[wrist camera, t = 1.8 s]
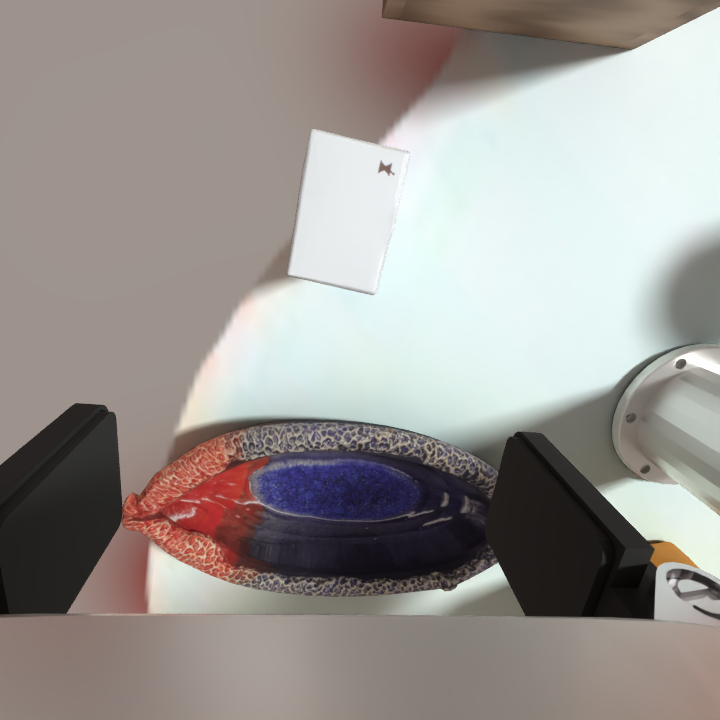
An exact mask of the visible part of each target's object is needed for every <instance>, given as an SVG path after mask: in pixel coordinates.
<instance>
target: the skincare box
mask: <svg viewBox="0 0 720 720" xmlns="http://www.w3.org/2000/svg"><path fill="white" fill-rule="evenodd" d="M409 160H410V153H409V152H408V151H404V150H399V149H395V148H390V147H386V146H382V145H378V144H374V143H370V142H365V141H361V140H357V139H353V138H349V137H345V136H341V135H337V134H332V133H328V132H325V131H320V130H316V129H312V130H311V131H310V135H309V139H308V145H307V150H306V155H305V160H304V165H303V171H302V177H301V183H300V189H299V197H298V204H297V211H296V219H295V224H294V230H293V236H292V243H291V249H290V256H289V262H288V268H287V275H288V276H291V277H296V278H300V279H304V280H308V281H313V282H317V283H321V284H326V285H330V286H334V287H339V288H343V289H347V290H352V291H357V292H361V293H366V294H370V295H374V294H376V292H377V290H378V286H379V282H380V278H381V274H382V270H383V266H384V262H385V258H386V254H387V250H388V246H389V242H390V239H391V237H392V233H393V230H394V226H395V221H396V215H397V211H398V207H399V203H400V198H401V194H402V190H403V186H404V181H405V177H406V173H407V169H408V164H409Z"/></svg>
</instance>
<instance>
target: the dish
mask: <svg viewBox="0 0 720 720" xmlns="http://www.w3.org/2000/svg"><path fill="white" fill-rule="evenodd" d="M498 473H499V472H498V471H497V470H496V469H494V468H493V467H491V466H490V465H488V464H487V463H485V462H484V461H483V460H481V459H479V458H477V457H475V456H473V455H471V454H470V453H468V452H466V451H464V450H462V449H459V448H457V447H454V446H452V445H450V444H447V443H445V442H442V441H440V440H437V439H434V438H432V437H429V436H426V435H422V434H419V433H415V432H412V431H409V430H404V429H399V428H395V427H390V426H385V425H378V424H370V423H363V422H351V421H337V420H299V421H282V422H273V423H264V424H259V425H254V426H250V427H245V428H241V429H237V430H235V431H232V432H229V433H226V434H223V435H220V436H218V437H215V438H213V439H210V440H208V441H205V442H202V443H201V444H199V445H197V446H196V447H194V448H193V449H191V450H190V451H188V452H186V453H185V454H184V455H182V456H181V457H180V458H178V459H177V460H176V461H174V462H173V463H171V464H169V465H167V466H166V467H164V468H163V469H161V470H160V471H159V472H158V473H156V474H155V475H154V476H153V478H152V479H151V481H150V482H149V484H148V485H147V486H146V488H145V489H144V490H143V492H142V493H141V495H140V496H139V495H137V494H135V493H133V492H132V493H131V494H130V495H129V496H128V497H127V498H126V500H125V503H124V505H123V507H122V513H123V517H122V524H123V526H124V528H126V529H127V530H133V531H140V532H141V533H143V534H144V535H145V536H147V537H148V538H149V539H151V540H152V541H154V542H155V543H156V544H157V545H158V546H159V547H161V548H162V549H163V550H164V551H165V552H167V553H168V554H170V555H171V556H173V557H175V558H176V559H178V560H179V561H181V562H183V563H185V564H188V565H190V566H192V567H194V568H196V569H198V570H200V571H202V572H205V573H207V574H209V575H211V576H214V577H217V578H219V579H222V580H225V581H228V582H230V583H233V584H237V585H242V586H246V587H250V588H254V589H260V590H266V591H273V592H279V593H289V594H299V595H312V596H372V595H387V594H397V593H407V592H416V591H426V590H434V589H442V590H444V591H451V590H453V589H455V588H456V587H457V584H459V583H461V582H464V581H466V580H468V579H470V578H471V577H473V576H475V575H477V574H479V573H481V572H483V571H485V570H486V569H488V568H490V567H491V566H493V565H495V564H496V563H498V560H497V558H496V556H495V554H494V553H493V551H492V549H491V547H490V545H489V543H488V541H487V538H486V535H485V522H486V519H487V515H488V511H489V507H490V503H491V499H492V496H493V492H494V488H495V484H496V480H497V477H498Z"/></svg>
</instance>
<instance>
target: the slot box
mask: <svg viewBox="0 0 720 720" xmlns="http://www.w3.org/2000/svg"><path fill="white" fill-rule="evenodd" d="M718 7H720V0H383V10H382V18H388V19H396V20H405V21H412V22H420V23H428V24H436V25H444V26H451V27H459V28H467V29H475V30H483V31H491V32H499V33H507V34H515V35H523V36H531V37H539V38H546V39H554V40H562V41H570V42H578V43H586V44H594V45H602V46H610V47H618V48H626V49H635V48H637V47H639V46H641V45H643V44H645V43H647V42H649V41H651V40H653V39H655V38H657V37H659V36H661V35H663V34H665V33H667V32H670V31H672V30H674V29H676V28H678V27H680V26H682V25H684V24H686V23H688V22H690V21H692V20H694V19H696V18H698V17H700V16H702V15H704V14H706V13H708V12H710V11H712V10H714V9H716V8H718Z"/></svg>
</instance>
